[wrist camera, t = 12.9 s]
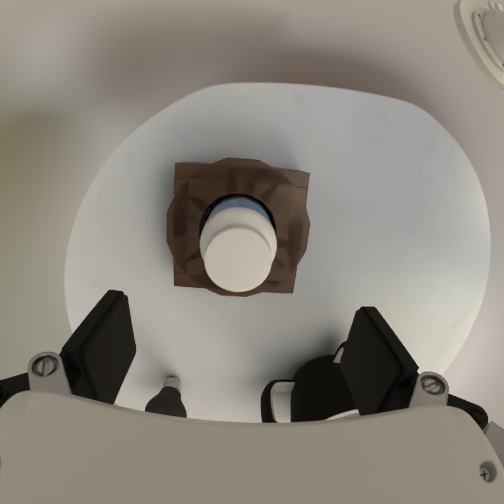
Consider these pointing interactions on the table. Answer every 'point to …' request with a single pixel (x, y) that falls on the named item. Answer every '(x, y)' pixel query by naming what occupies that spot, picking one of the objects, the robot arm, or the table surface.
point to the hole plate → (239, 182)
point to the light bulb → (168, 400)
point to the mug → (314, 392)
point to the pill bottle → (238, 243)
